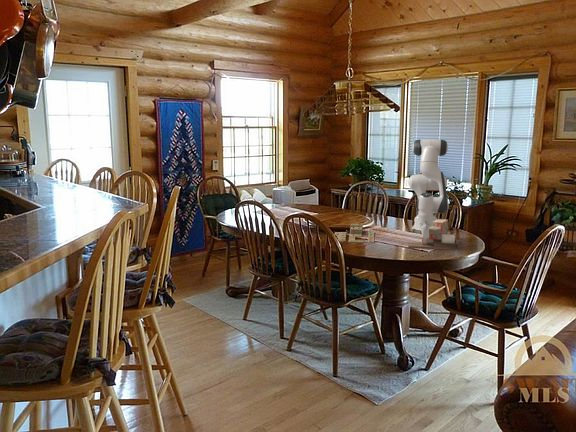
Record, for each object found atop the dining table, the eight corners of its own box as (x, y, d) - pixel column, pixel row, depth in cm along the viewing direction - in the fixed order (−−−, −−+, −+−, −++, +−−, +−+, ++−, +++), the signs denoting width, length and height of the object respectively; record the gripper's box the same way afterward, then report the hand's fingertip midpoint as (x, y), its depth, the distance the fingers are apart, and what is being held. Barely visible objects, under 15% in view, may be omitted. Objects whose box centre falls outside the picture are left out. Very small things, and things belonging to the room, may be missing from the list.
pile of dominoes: (335, 230, 352) (335, 223, 351) (374, 232, 348) (374, 224, 347) (331, 242, 319) (331, 234, 318) (374, 243, 314) (374, 235, 313)
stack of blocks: (436, 244, 309) (437, 225, 307) (426, 243, 313) (427, 224, 310) (447, 237, 326) (448, 219, 324) (437, 236, 330) (438, 218, 328)
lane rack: (408, 243, 312) (408, 235, 311) (455, 245, 306) (456, 237, 305) (408, 248, 301) (408, 239, 300) (457, 250, 295) (458, 241, 294)
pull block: (421, 243, 307) (421, 233, 306) (453, 244, 304) (453, 234, 302) (422, 245, 302) (422, 235, 301) (454, 246, 298) (455, 236, 297)
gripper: (432, 223, 291) (430, 246, 293) (429, 217, 310) (428, 238, 313) (420, 223, 292) (419, 246, 295) (419, 216, 312) (418, 238, 314)
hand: (424, 242), depth 304 cm, fingers closed on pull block, 2 cm apart
